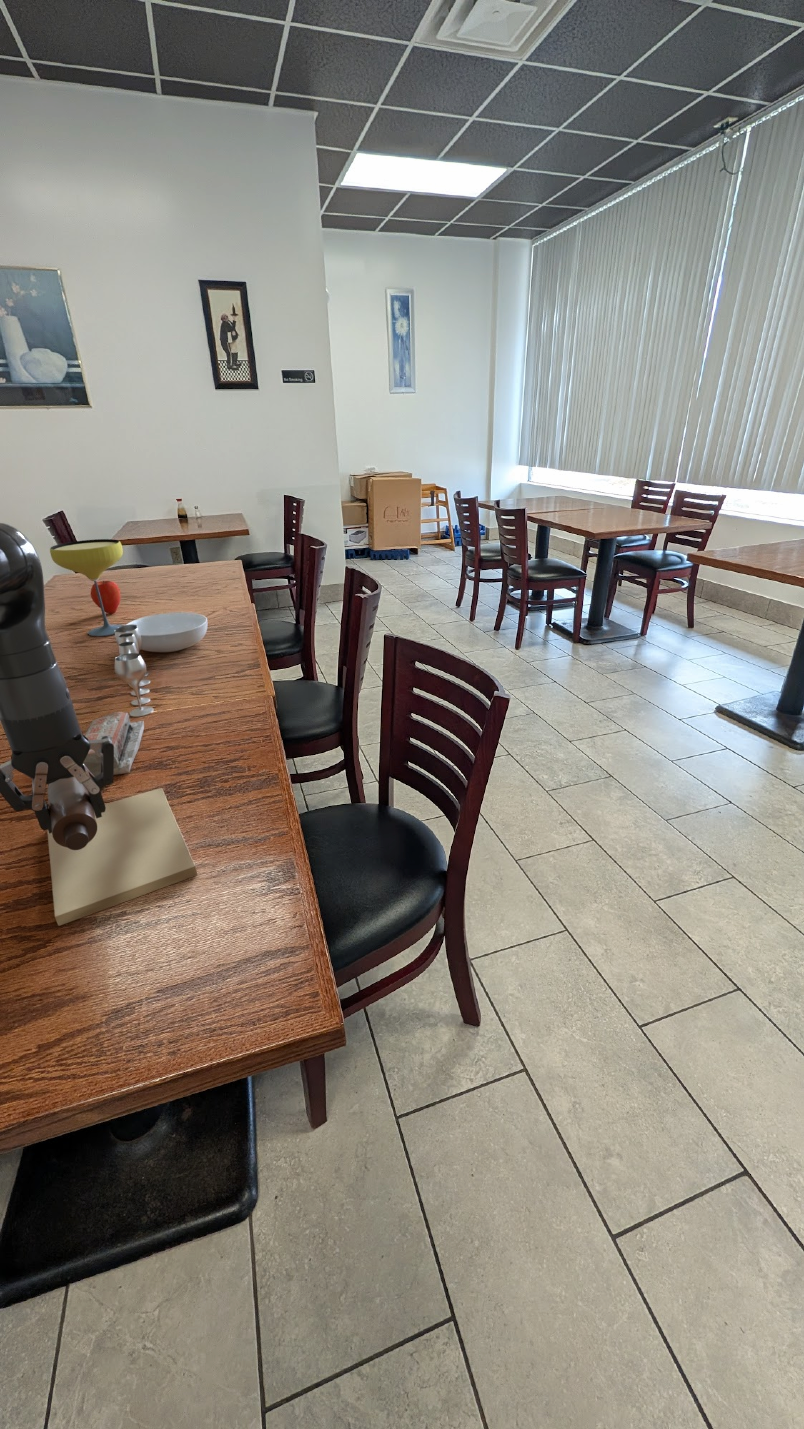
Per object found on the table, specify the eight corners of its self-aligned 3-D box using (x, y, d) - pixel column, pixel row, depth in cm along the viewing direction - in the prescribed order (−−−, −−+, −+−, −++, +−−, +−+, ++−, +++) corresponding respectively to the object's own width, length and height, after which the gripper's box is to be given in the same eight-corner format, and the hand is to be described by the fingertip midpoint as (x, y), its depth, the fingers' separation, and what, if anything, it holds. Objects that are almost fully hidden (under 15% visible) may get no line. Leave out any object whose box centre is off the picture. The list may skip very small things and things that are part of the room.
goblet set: (126, 674, 141) (112, 620, 135) (151, 669, 143) (139, 617, 137) (126, 720, 118) (110, 658, 112) (156, 714, 120) (142, 653, 114)
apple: (92, 617, 187) (83, 584, 182) (102, 610, 194) (93, 578, 190) (119, 616, 187) (111, 582, 183) (128, 609, 195) (120, 576, 190)
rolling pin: (52, 801, 81) (40, 772, 79) (90, 789, 83) (79, 760, 81) (61, 865, 69) (47, 833, 67) (105, 849, 71) (92, 817, 69)
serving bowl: (171, 665, 145) (165, 638, 142) (112, 654, 154) (105, 629, 151) (227, 640, 162) (223, 615, 159) (171, 631, 171) (166, 608, 168)
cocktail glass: (80, 626, 179) (56, 542, 168) (143, 619, 183) (124, 537, 173) (68, 644, 163) (41, 552, 152) (138, 636, 168) (116, 546, 157)
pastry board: (58, 926, 68) (54, 916, 67) (49, 829, 85) (46, 821, 85) (197, 875, 75) (195, 865, 75) (163, 795, 92) (161, 787, 92)
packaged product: (124, 749, 96) (58, 758, 94) (131, 774, 99) (67, 783, 97) (140, 705, 112) (84, 712, 110) (146, 727, 114) (91, 735, 112)
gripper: (97, 679, 75) (129, 791, 82) (-37, 707, 68) (11, 826, 76) (105, 699, 69) (139, 817, 76) (-41, 732, 62) (12, 858, 70)
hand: (75, 821), depth 76 cm, fingers closed on rolling pin, 5 cm apart
